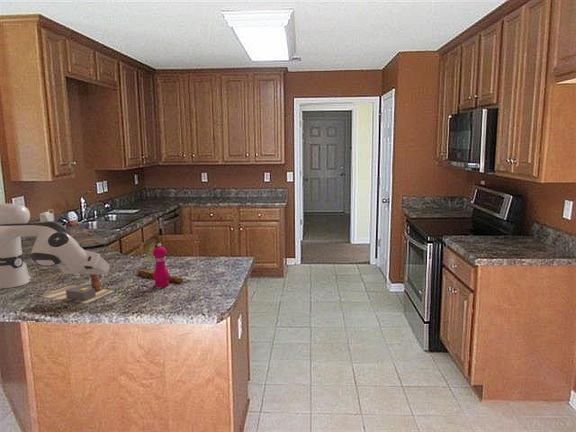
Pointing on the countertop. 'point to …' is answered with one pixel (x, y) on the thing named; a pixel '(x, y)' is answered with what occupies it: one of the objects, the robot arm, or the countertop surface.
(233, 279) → the countertop surface
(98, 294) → the subfloor panel
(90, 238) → the serving board
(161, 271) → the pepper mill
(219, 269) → the countertop surface
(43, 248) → the robot arm
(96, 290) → the awl
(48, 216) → the skyscraper
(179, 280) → the tap handle
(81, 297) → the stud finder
